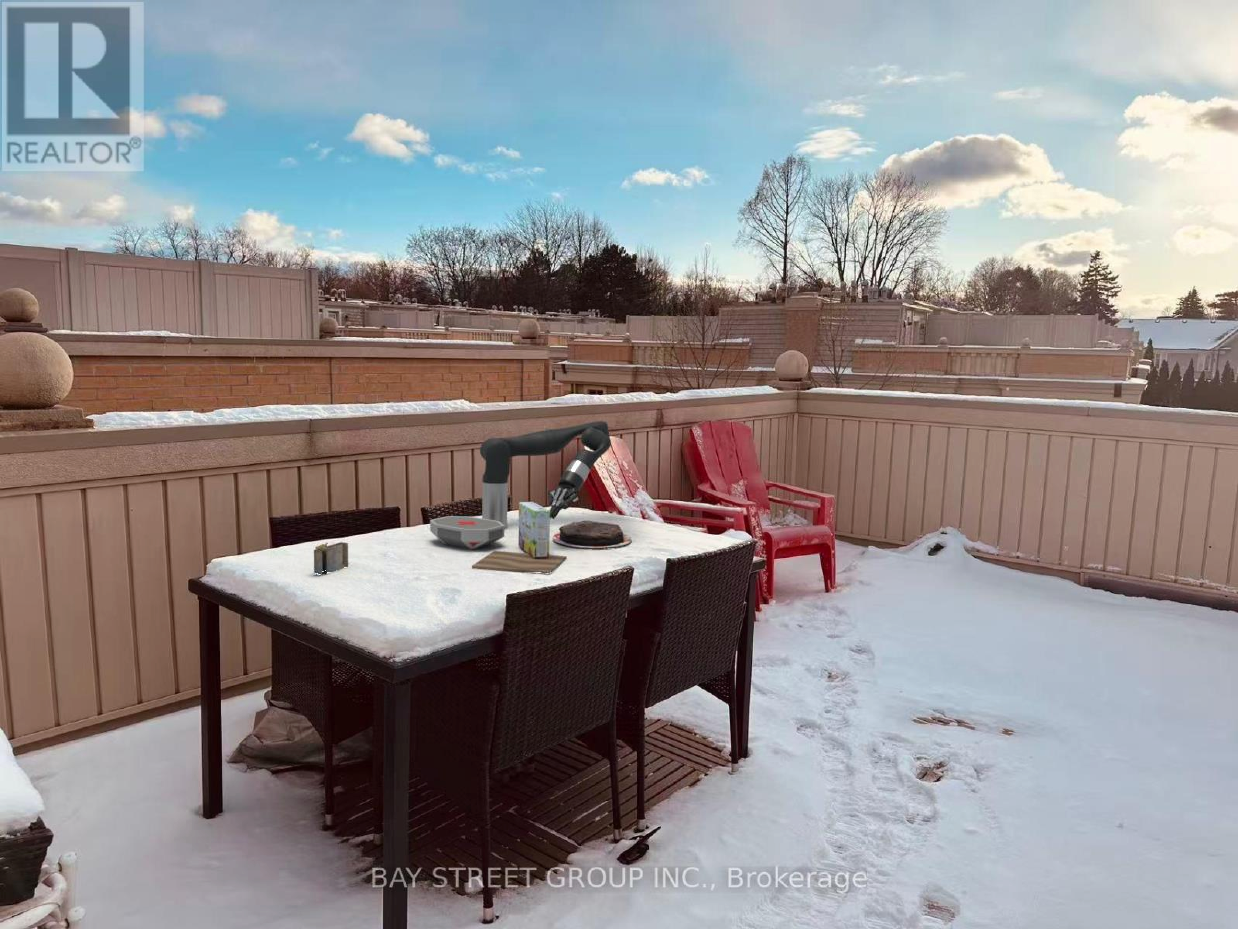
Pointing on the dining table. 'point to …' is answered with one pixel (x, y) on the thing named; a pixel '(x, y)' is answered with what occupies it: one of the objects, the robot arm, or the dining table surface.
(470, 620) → the dining table surface
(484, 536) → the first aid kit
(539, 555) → the snack box
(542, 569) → the walnut board
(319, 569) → the ruin model on sheet
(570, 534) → the chocolate cake
